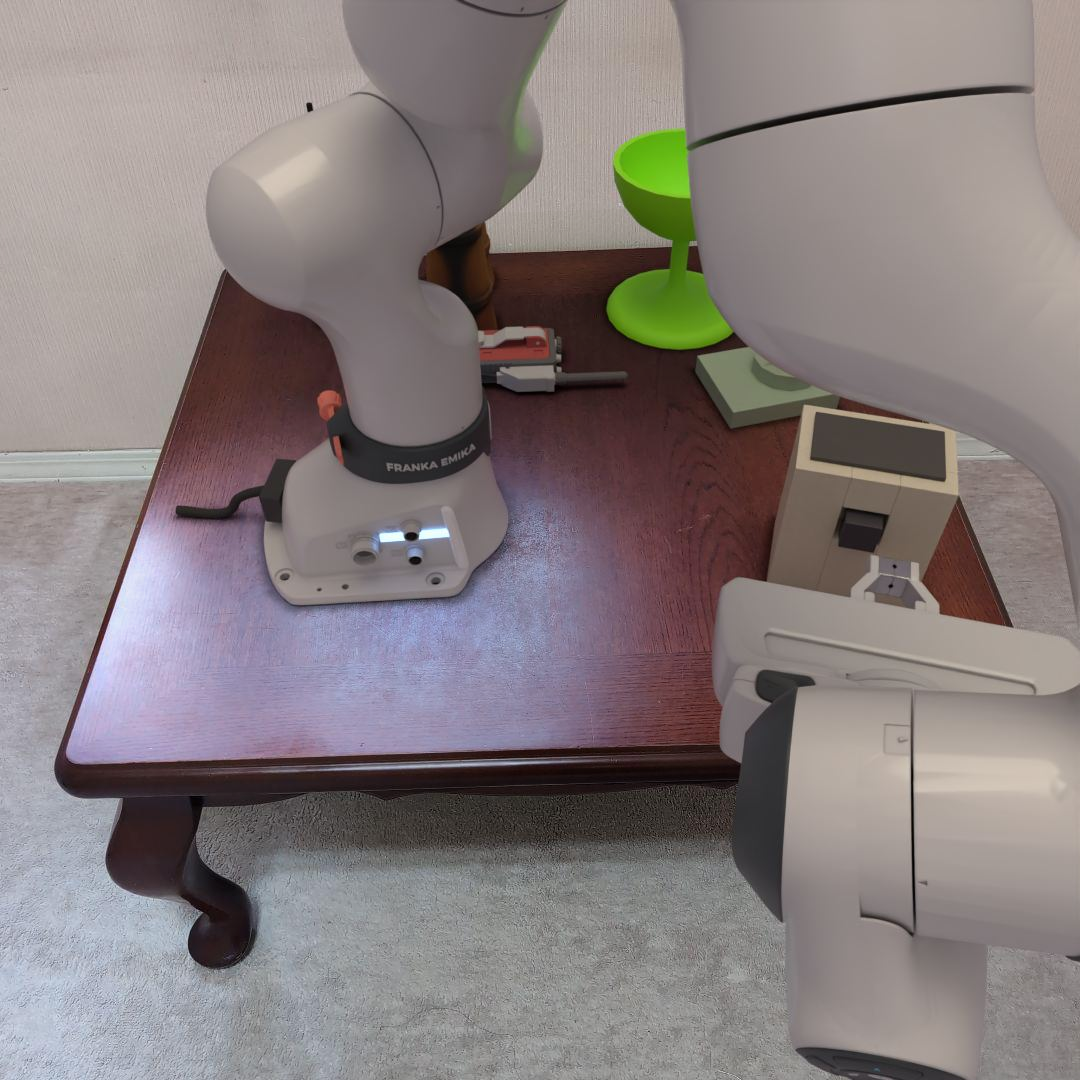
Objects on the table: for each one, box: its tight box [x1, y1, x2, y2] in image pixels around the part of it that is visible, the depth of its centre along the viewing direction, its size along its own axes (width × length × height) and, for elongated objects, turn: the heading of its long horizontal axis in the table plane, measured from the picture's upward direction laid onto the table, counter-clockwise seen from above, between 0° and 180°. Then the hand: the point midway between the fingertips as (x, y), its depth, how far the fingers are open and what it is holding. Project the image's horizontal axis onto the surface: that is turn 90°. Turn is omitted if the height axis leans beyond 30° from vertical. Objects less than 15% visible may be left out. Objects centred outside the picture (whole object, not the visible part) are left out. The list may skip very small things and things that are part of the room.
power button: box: [838, 508, 883, 553], centre depth 75 cm, size 3×2×3 cm
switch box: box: [694, 346, 841, 429], centre depth 100 cm, size 12×10×4 cm
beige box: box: [766, 405, 960, 608], centre depth 79 cm, size 12×8×14 cm, turn 75°
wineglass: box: [605, 127, 735, 351], centre depth 106 cm, size 16×16×18 cm
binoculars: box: [425, 221, 498, 331], centre depth 106 cm, size 18×8×20 cm, turn 4°
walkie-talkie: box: [478, 325, 629, 393], centre depth 103 cm, size 9×4×20 cm
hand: (891, 565), depth 59 cm, fingers closed
